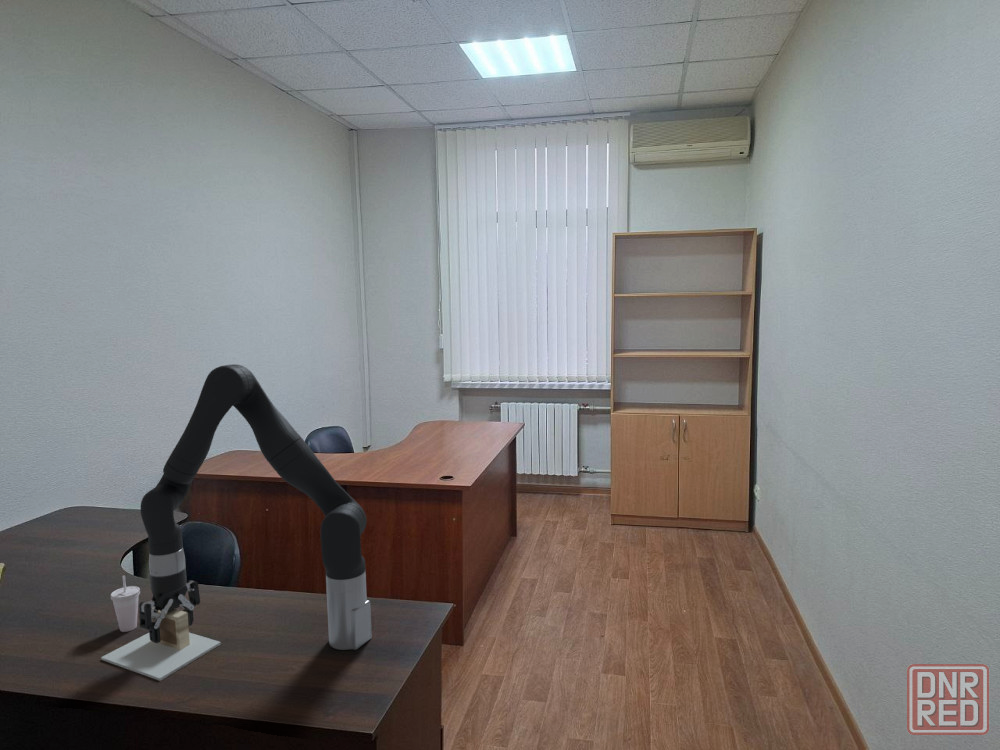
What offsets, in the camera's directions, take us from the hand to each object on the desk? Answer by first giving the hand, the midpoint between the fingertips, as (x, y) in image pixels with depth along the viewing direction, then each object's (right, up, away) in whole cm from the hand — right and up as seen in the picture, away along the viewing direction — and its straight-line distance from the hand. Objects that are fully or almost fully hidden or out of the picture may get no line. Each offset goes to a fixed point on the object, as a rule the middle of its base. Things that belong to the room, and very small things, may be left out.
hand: (172, 633), depth 150 cm
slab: (-1, -3, +1) cm, 3 cm away
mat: (-1, -3, -2) cm, 4 cm away
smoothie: (-16, -3, +9) cm, 18 cm away
